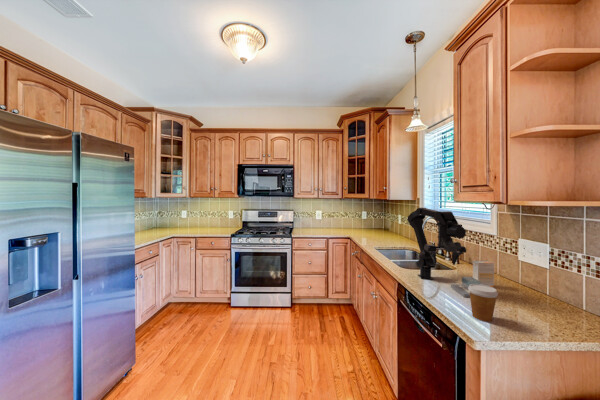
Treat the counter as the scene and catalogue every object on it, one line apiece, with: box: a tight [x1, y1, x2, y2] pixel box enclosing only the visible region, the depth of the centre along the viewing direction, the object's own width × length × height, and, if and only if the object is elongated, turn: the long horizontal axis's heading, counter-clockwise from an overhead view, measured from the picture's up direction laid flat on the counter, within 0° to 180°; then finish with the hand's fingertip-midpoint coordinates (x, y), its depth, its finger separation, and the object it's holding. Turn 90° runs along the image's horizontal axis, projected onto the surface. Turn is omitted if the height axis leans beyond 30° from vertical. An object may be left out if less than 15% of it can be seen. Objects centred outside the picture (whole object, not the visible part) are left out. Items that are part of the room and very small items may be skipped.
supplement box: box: [472, 260, 495, 288], centre depth 129 cm, size 8×5×13 cm, turn 84°
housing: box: [461, 276, 481, 291], centre depth 120 cm, size 5×7×5 cm
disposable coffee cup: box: [468, 284, 499, 322], centre depth 95 cm, size 10×10×12 cm
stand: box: [450, 283, 470, 298], centre depth 120 cm, size 13×13×2 cm
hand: (444, 264), depth 127 cm, fingers open, 9 cm apart
